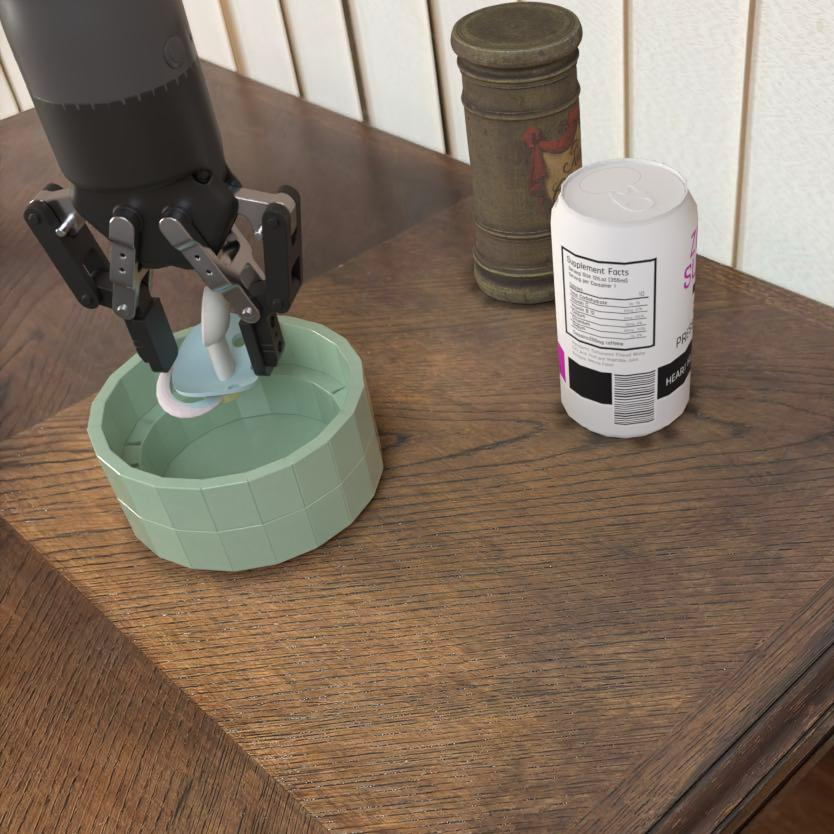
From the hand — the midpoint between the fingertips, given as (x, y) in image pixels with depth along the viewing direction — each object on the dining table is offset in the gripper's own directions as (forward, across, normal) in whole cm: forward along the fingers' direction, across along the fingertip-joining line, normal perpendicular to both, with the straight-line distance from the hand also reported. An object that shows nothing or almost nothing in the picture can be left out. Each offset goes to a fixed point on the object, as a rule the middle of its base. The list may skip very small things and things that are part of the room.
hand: (216, 364), depth 60 cm
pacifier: (+2, +1, 0) cm, 2 cm away
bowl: (+9, 0, 0) cm, 9 cm away
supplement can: (+9, -22, -9) cm, 26 cm away
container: (+9, -14, -24) cm, 29 cm away
